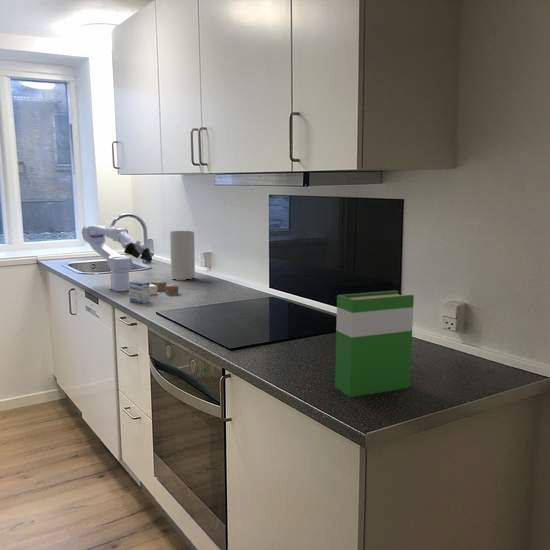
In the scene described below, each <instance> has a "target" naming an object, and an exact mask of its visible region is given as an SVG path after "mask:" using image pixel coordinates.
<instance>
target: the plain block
mask: <svg viewBox="0 0 550 550" xmlns="http://www.w3.org/2000/svg"><path fill="white" fill-rule="evenodd" d="M151 294H154V295H158V291H157V286H156V285H153V284H150V296H152V295H151Z"/></svg>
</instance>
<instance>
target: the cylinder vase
mask: <svg viewBox="0 0 550 550" xmlns="http://www.w3.org/2000/svg"><path fill="white" fill-rule="evenodd" d="M169 237H170V239H169V241H170V243H169V244H170V278H171V279H172V280H173V279H176V280H175V281H187V280H186V279H191V280H193V279H192V278H194V277H196V274H195V272H196V269H195V268H196V266H195V265H196V263H195V262H196V261H195V260H196V259H195V231H192V230H172V231H170V232H169ZM194 279H195V278H194Z"/></svg>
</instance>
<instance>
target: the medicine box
mask: <svg viewBox="0 0 550 550" xmlns="http://www.w3.org/2000/svg"><path fill="white" fill-rule="evenodd" d="M128 291H129V292H128V295H129V296H128V297H129V302H130V303H135V302H137V304H143V303H144V304H147V302H148V303H150V302H151V295H150V282H146V281H138V280H133V281H129V290H128Z"/></svg>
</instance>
